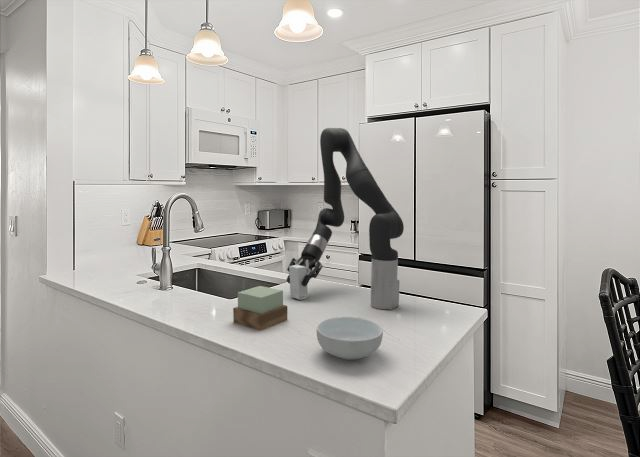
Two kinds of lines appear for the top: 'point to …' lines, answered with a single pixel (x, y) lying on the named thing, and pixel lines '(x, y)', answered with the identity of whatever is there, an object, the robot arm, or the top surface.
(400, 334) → the top surface
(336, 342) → the cereal bowl
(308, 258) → the robot arm
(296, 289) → the skincare box
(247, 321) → the tower base
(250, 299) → the tower top
